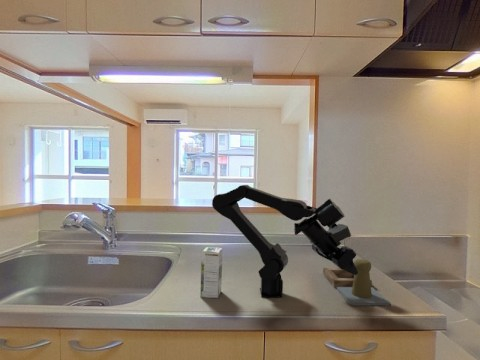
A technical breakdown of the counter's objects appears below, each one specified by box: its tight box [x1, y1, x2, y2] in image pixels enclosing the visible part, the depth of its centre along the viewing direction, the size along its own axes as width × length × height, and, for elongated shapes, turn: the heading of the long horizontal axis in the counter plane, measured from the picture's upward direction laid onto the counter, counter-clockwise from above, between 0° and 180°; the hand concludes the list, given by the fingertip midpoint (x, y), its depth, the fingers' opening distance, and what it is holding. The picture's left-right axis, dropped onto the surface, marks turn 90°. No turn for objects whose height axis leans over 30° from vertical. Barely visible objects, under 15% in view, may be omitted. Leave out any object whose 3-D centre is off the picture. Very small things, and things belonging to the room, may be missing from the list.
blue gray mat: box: [336, 286, 391, 307], centre depth 97 cm, size 12×12×1 cm
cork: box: [351, 258, 372, 298], centre depth 97 cm, size 6×6×11 cm
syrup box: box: [199, 246, 224, 299], centre depth 97 cm, size 6×6×14 cm
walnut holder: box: [322, 267, 373, 289], centre depth 111 cm, size 13×13×2 cm
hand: (348, 268), depth 96 cm, fingers open, 9 cm apart
